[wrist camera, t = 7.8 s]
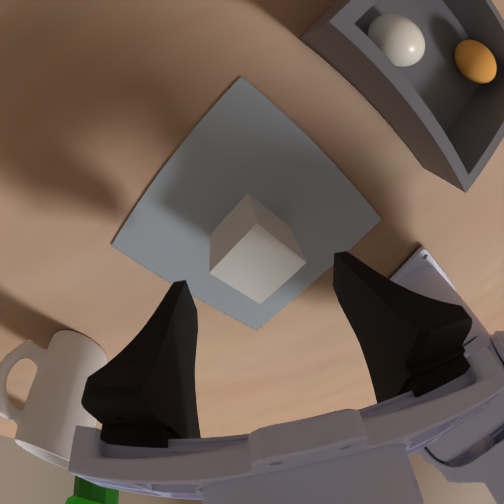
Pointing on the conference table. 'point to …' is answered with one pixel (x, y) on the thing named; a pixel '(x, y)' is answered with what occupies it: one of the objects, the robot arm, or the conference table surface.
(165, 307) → the robot arm
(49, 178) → the conference table surface
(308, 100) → the conference table surface
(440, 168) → the bin
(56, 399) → the mug
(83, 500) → the plastic bottle
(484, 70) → the orange ball
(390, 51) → the cream ball
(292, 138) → the bin lid
